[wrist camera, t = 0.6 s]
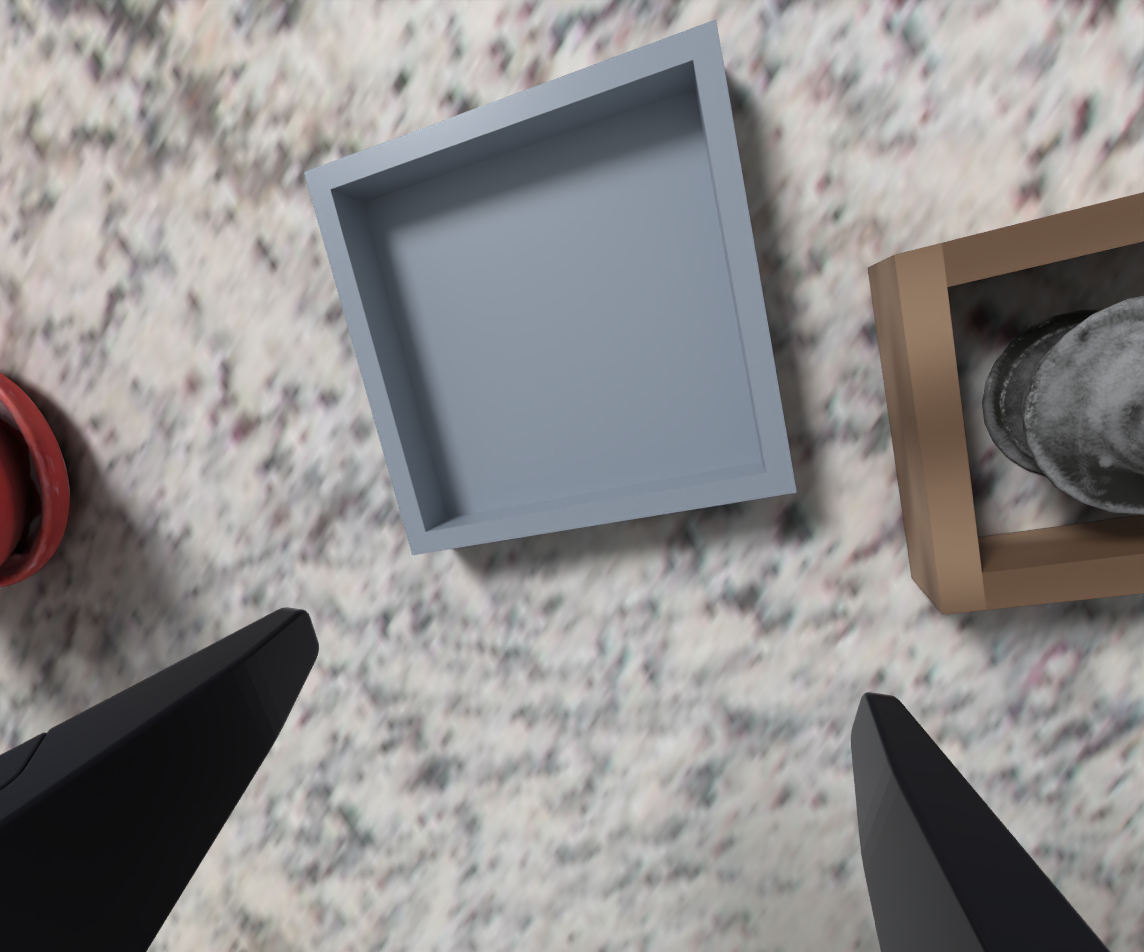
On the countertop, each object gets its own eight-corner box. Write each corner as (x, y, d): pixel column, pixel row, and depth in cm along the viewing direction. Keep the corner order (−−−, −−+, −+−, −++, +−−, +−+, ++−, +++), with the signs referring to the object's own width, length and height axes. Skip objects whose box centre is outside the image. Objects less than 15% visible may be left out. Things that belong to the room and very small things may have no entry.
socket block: (1297, 531, 19) (1403, 566, 16) (911, 578, 21) (942, 614, 19) (1286, 164, 17) (1404, 127, 14) (867, 267, 20) (894, 254, 17)
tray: (787, 476, 22) (796, 492, 19) (440, 535, 25) (412, 555, 23) (715, 59, 19) (716, 19, 17) (346, 190, 23) (303, 172, 21)
